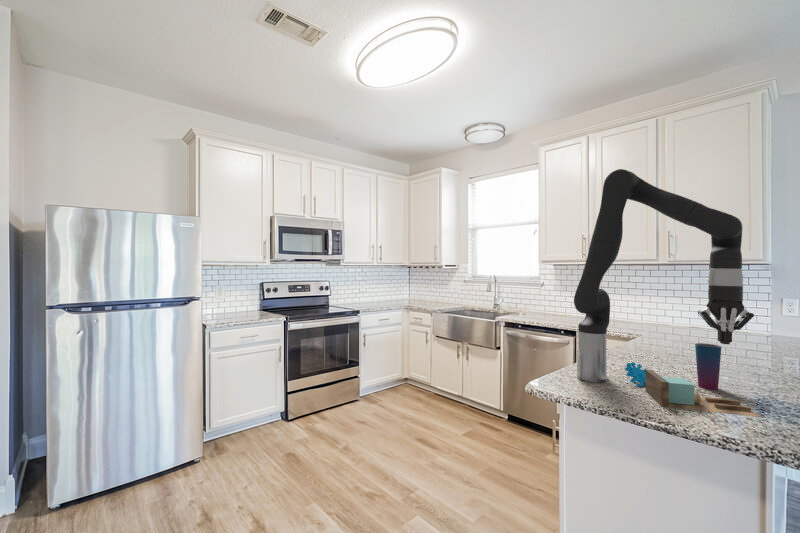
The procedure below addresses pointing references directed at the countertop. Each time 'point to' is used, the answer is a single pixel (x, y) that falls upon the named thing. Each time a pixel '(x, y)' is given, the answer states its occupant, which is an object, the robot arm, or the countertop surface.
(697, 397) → the dowel
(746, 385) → the countertop surface
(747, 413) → the board
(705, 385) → the cup
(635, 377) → the gear
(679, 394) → the block
